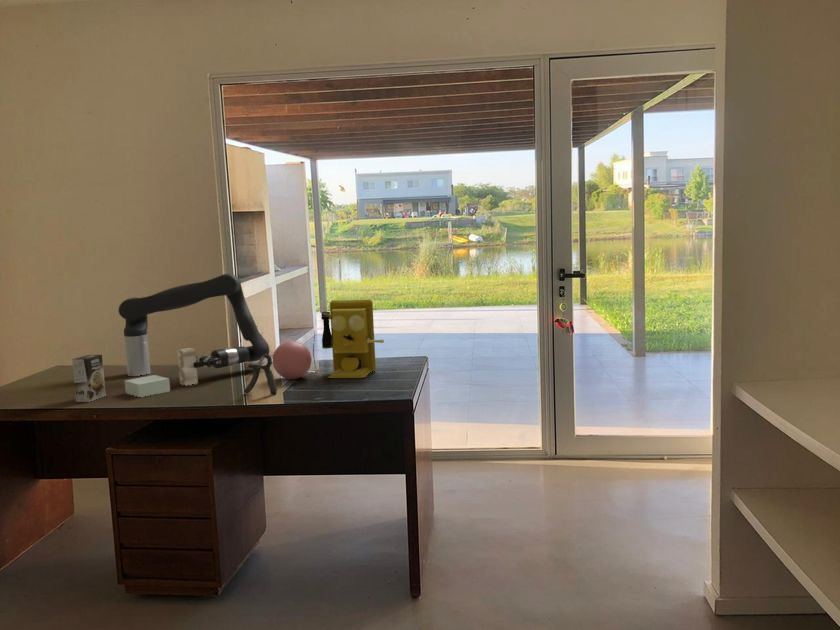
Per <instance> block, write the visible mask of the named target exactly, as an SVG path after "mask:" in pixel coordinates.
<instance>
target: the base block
mask: <svg viewBox="0 0 840 630" xmlns="http://www.w3.org/2000/svg"><path fill="white" fill-rule="evenodd" d="M124 390H125V391H124V392H125V394H126V393H127V394H126V395H129V394H130V395H129V396H132V395H134V396H133V397H136V396H137V397H136V398H139V397H141V398H145V396H146V397H149V396H150V395H151V396H156V395H159V394H166V393H169V392H171V383H170V378H169V377H164V376H160V375H157V374H153V375H152V374H151V375H147V376H146V375H145V376H142V377H137V378H132V379H127V380H124ZM155 394H156V395H155Z"/></svg>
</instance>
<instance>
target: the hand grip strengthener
mask: <svg viewBox="0 0 840 630" xmlns="http://www.w3.org/2000/svg"><path fill="white" fill-rule="evenodd" d="M265 359H266V365H265V364H264V365H261V364H262V363H263V361H264V360H265ZM245 363H246V364H245V368H246V369H252V370H253V371H252V377H251V379H250V381H249V383H248V385H247V386H246V388H245V389H244V391H243V392H244V393H245V394H249V393H250V392H251V391H252V390H253V389H254V387H255V385H256V384H257V381H258V379H259V378H260V377H259V376H260V372H261V370H263V372H264V374H265V377H266V378H265V379H266V381H267V385H268V388H269V392H270V395H271V394H275V395H277V394H278V388H277V384H276V380H275V376H274V373H273V370H271V366H272V365H273V357H272V356H271V355H270V354H269V355H268V354H264V355H263V356H262V358H261V359H260V360H258V361H257V363H256V364H252V363H249V362H245ZM276 393H277V394H276Z"/></svg>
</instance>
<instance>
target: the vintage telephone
mask: <svg viewBox="0 0 840 630" xmlns="http://www.w3.org/2000/svg"><path fill="white" fill-rule="evenodd" d="M320 308H322V306H321V307H319V308H318V309H317V311H316V315H317V313H318V311H319V310H320ZM323 310H324V311H322V312H321V317H320V318H321V320H322V322H323V323H322V324H323V332H322V337H321V344H322V349H325V350H327V349H331V351H332V366H333V372H331V374H330V373H329V374H328V373H322V375H325V376H327V375H328V376H327V379H328V378H364V377H365V378H366V377H368V376H369V375H370V374H371V373H372V372H371V371H377V365H376V351H375V350H376V345H375V343H381V344H383V343H384V338H382V339H375V326H374V306H373V301H372V300H371V299H344V300H343V299H342V300H341V299H339V300H337V299H336V300H333V299H332V300H331V301H330V302H329V310H330V311H326V310H325V308H323ZM314 324H316V319H315V323H314ZM315 336H316V331H314V335H313V341H315ZM312 347H313V348H312V356H313V357H312V358H313V362H314V364H316V361H315V359H316V358H315V344H313V346H312ZM314 368H315V370H317V369H316V368H317V367H316V365H314ZM334 371H335V372H334ZM370 372H371V373H370ZM369 373H370V374H369ZM368 374H369V375H368ZM367 375H368V376H367ZM365 378H364V379H365Z"/></svg>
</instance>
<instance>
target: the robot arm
mask: <svg viewBox="0 0 840 630" xmlns="http://www.w3.org/2000/svg"><path fill="white" fill-rule="evenodd" d="M223 296H226V297H227V299H228V301H229V303H230V304H231V307H232V309H233V313H234V316H235V320H236V323H237V327H238V329H239V331H240V334H241V335H242V338H243V340H245V341H246V342H250V343H251V345H249V346H236V347H226V348H221V349H214V350H212V352H211V353H210V355H209V354H208V355H207V354H206V355H203V354H202V355H199V356H198V355H196V362H194V368H197V369H198V368H203V367H204V368H210V367H213V368H214V369H220V368H221V369H222V368H225V367H230V366H233V365H238V364H243V363H252V362H259V361H260V359H261V358H262V356H263V355H264V354H268V355H270V352H271V351H270V346H269V343H268V342H267V341H266V339H265V338H264V336H263V335H262V334H261V333H260V332H259V329H258V327H257V324H256V322H255V319H254V318H253V315H252V313H251V312H250V309H249V307H248V304H247V302H246V299H245V295H244V291H243V287H242V283H241V280H240V279H239V277H238V276H236V275H235V274H230V273H224V274H221V275H219V276H216V277H212V278H211V279H208V280H204V281H200V282H193V283H187V284H182V285H177V286H174V287H173V286H172V287H171V288H167V289H164V290H162V291H159V292H157V293H154V294H152V295H148V296H144V297H143V296H142V297H130V298H127V299H125V300H123V301H122V302H121V303H120V304H119V306H118V314H119V315H120V317H121V318H122V319H124V320H125V326H124V329H123V337H124V350H125V359H126V371H127V376H128V377H140V375H142V376H146V374H147V375H150V374H151V362H150V361H151V360H150V351H149V340H148V326H149V325H148V315H151V314H154V313H161V312H167V311H172V310H178V309H182V308H185V307H188V306H193V305H195V304H198V303H200V302H202V301H204V300H207V299H210V298H216V297H223Z"/></svg>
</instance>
